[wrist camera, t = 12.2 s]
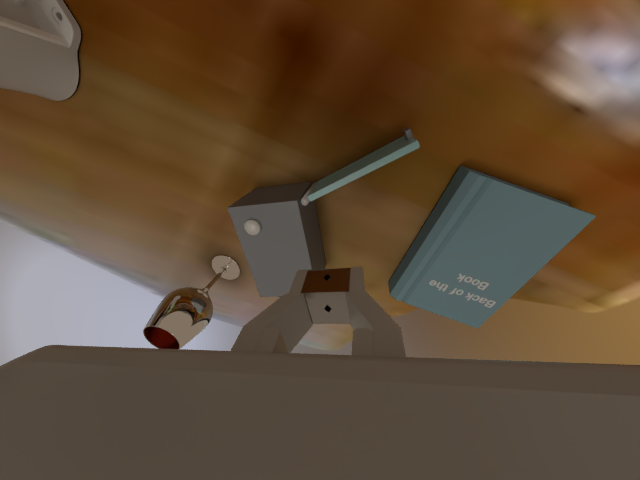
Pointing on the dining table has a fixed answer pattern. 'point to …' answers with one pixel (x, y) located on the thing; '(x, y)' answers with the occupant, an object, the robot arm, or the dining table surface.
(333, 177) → the side door
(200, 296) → the wineglass
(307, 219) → the housing
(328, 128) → the dining table surface
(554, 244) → the book
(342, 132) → the dining table surface
